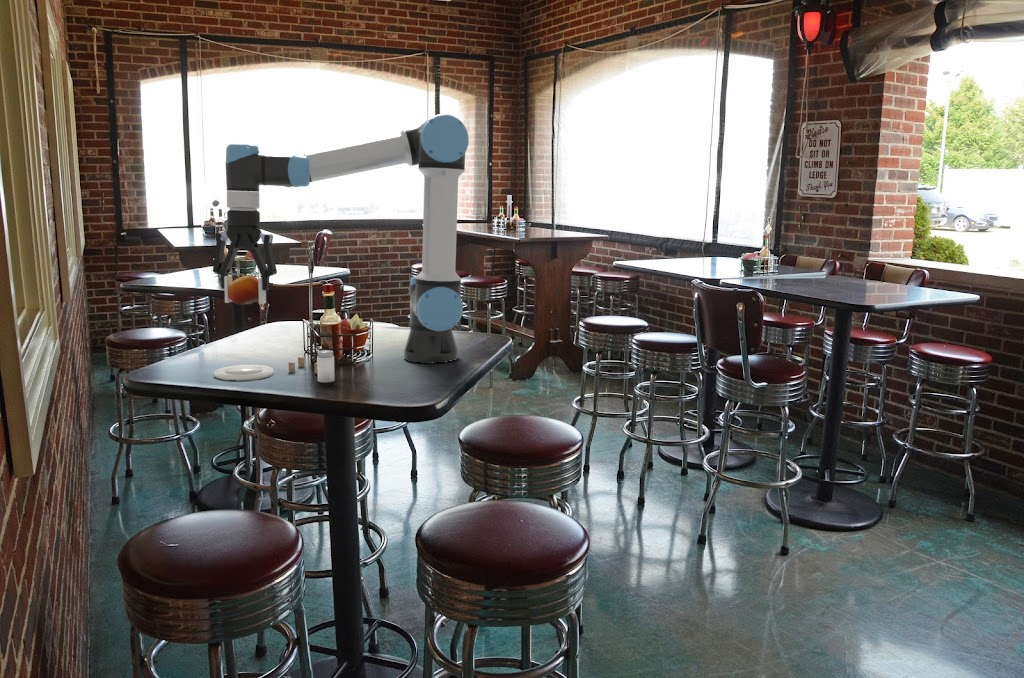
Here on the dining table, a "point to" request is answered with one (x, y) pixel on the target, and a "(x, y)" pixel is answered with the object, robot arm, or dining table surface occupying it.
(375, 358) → the dining table surface
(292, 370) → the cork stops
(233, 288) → the fruit
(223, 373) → the saucer
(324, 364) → the salt shaker
